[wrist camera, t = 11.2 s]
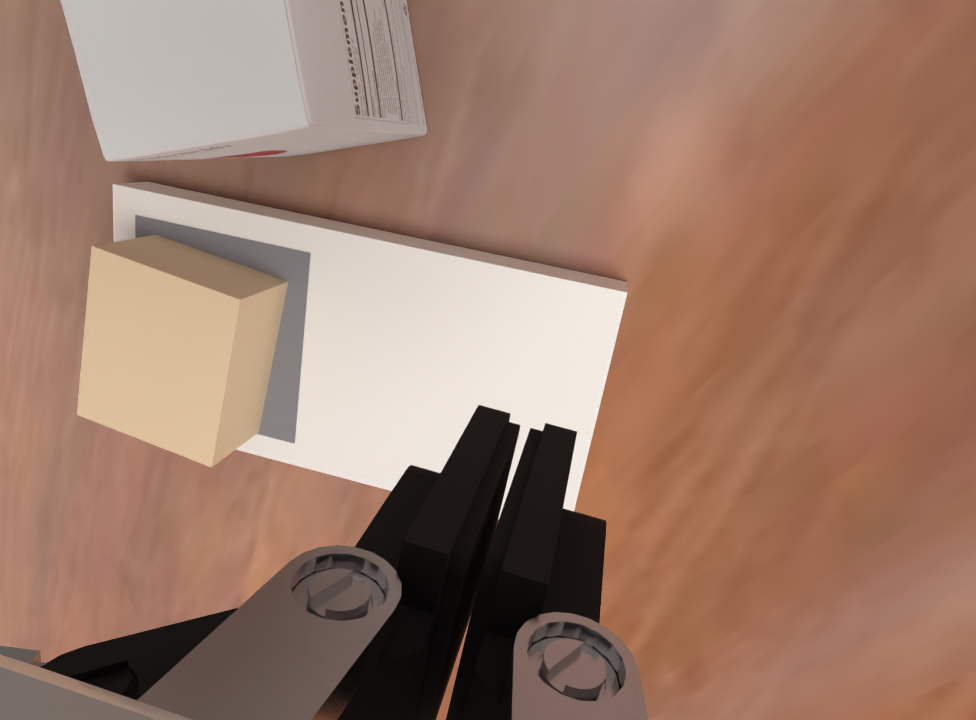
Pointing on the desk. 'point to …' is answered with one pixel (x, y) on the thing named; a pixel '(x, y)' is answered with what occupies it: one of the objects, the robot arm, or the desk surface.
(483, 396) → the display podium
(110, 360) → the kraft carton
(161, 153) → the supplement box
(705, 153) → the desk surface
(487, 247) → the desk surface
